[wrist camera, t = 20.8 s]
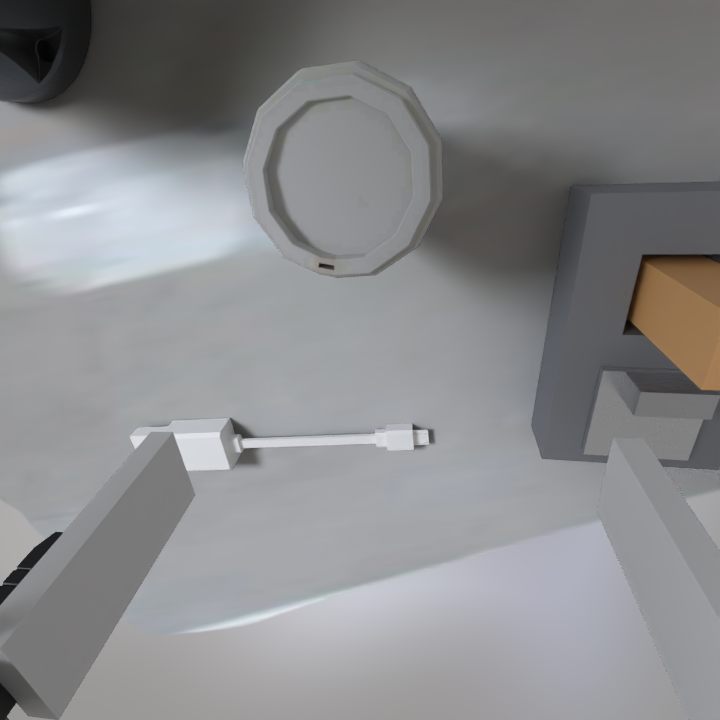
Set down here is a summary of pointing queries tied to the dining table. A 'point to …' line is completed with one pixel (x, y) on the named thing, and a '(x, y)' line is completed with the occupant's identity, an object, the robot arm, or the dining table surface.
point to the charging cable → (263, 441)
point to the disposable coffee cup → (344, 169)
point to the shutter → (648, 411)
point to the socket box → (615, 303)
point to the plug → (681, 312)
